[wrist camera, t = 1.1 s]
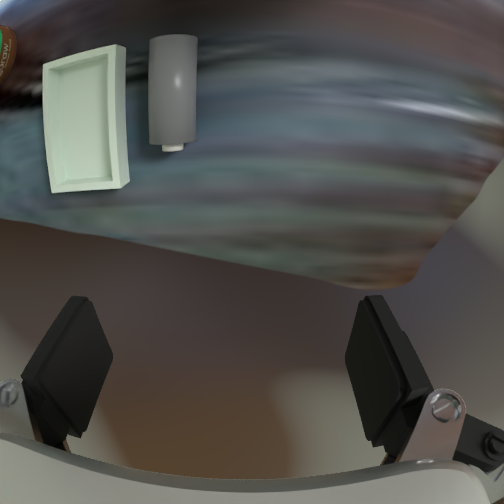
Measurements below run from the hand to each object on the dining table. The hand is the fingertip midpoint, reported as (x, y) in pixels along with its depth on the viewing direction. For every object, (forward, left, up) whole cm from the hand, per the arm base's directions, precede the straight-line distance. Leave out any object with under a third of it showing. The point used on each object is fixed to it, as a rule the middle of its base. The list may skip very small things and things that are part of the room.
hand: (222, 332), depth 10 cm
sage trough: (-7, -16, -22) cm, 28 cm away
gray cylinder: (-9, -6, -23) cm, 25 cm away
